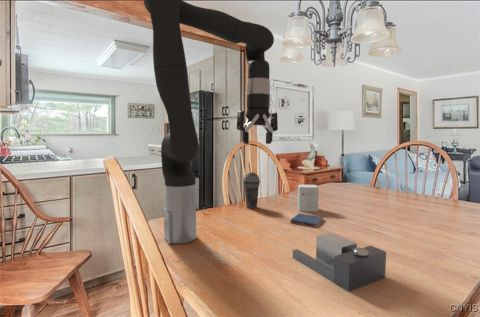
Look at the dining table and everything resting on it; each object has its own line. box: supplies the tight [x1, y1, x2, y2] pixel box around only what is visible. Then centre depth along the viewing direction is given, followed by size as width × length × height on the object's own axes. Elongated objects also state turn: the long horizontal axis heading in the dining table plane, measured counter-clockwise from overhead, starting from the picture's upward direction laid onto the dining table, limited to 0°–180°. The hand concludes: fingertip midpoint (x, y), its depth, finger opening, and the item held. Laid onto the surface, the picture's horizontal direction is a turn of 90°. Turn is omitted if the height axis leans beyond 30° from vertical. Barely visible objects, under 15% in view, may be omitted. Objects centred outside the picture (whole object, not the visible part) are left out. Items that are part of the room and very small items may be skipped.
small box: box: [297, 184, 319, 213], centre depth 118 cm, size 8×6×10 cm
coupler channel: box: [292, 245, 387, 292], centre depth 68 cm, size 12×18×7 cm, turn 28°
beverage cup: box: [243, 162, 261, 210], centre depth 122 cm, size 7×7×20 cm
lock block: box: [315, 232, 358, 269], centre depth 67 cm, size 5×8×7 cm, turn 28°
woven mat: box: [289, 212, 325, 229], centre depth 103 cm, size 10×11×2 cm
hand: (257, 143), depth 91 cm, fingers open, 8 cm apart
